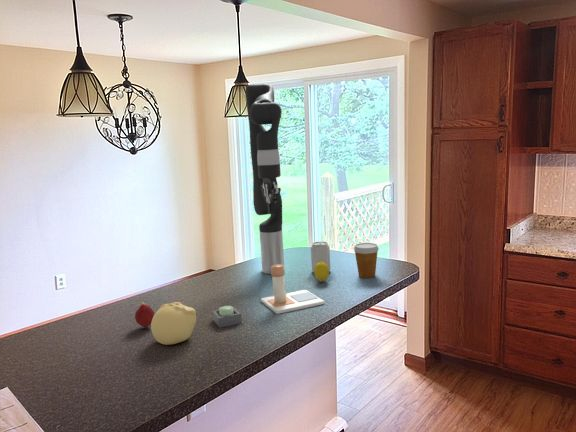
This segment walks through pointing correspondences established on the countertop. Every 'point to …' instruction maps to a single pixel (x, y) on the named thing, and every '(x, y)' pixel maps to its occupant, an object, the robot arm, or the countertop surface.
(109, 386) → the countertop surface
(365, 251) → the disposable coffee cup
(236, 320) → the button housing
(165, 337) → the pale yellow lumpy ball
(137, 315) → the onion
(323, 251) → the can
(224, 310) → the button
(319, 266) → the lemon
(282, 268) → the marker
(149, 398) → the countertop surface
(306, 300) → the picture board
